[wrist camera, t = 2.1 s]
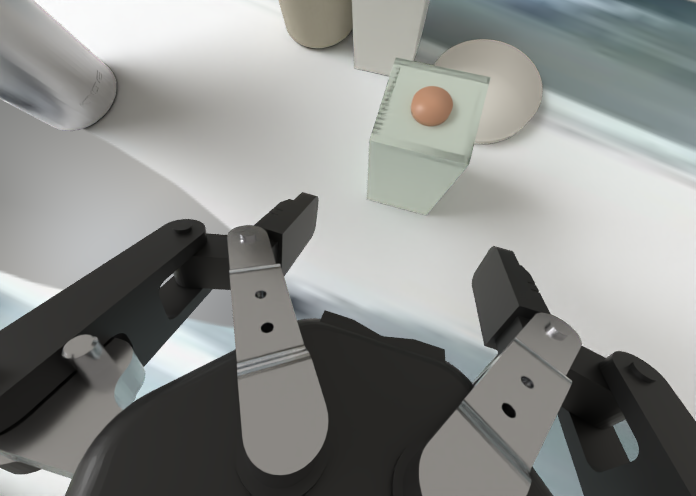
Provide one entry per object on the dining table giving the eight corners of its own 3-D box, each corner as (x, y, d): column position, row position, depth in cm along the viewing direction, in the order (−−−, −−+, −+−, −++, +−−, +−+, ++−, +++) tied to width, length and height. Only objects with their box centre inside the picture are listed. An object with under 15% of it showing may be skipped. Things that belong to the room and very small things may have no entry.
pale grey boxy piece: (366, 199, 25) (369, 136, 15) (383, 145, 26) (396, 51, 16) (426, 215, 25) (471, 161, 14) (441, 159, 26) (493, 71, 15)
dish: (413, 129, 26) (415, 122, 25) (439, 41, 28) (442, 29, 27) (523, 155, 25) (531, 148, 24) (543, 61, 27) (551, 51, 26)
